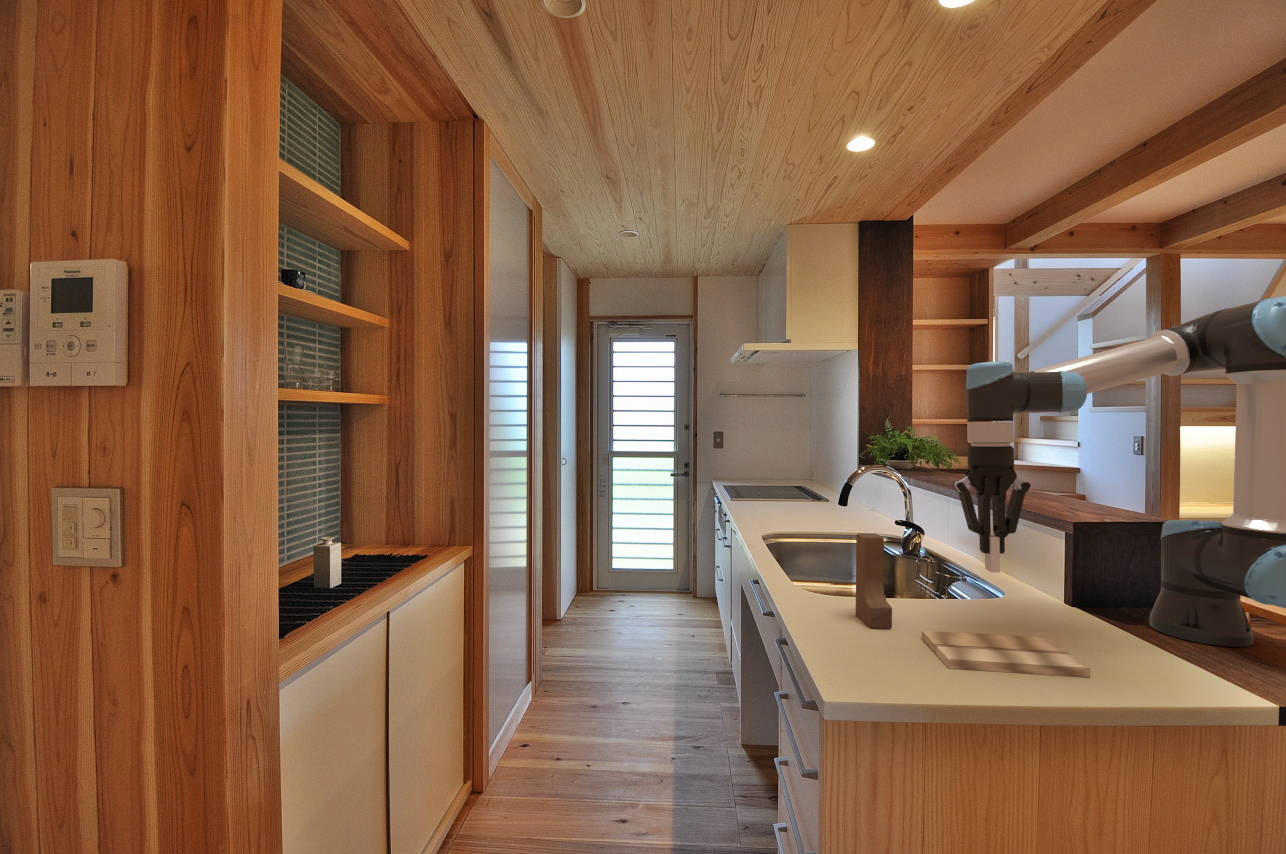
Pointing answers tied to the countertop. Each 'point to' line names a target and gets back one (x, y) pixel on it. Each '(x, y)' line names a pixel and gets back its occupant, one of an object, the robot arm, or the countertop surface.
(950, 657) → the laid board
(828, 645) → the countertop surface
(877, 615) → the wooden block
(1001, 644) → the board
